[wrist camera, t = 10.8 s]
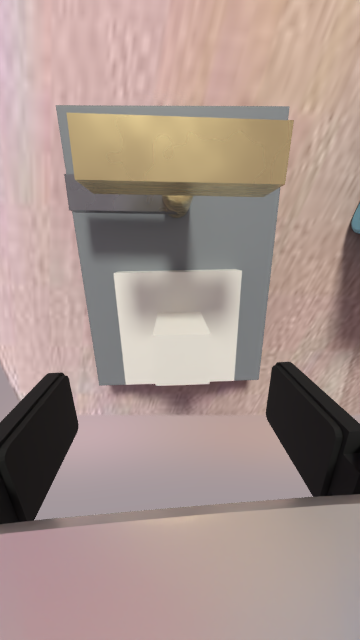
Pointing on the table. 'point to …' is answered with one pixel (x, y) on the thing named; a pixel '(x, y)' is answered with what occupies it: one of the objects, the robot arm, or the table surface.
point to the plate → (177, 246)
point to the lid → (178, 325)
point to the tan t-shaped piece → (171, 161)
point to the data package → (356, 220)
